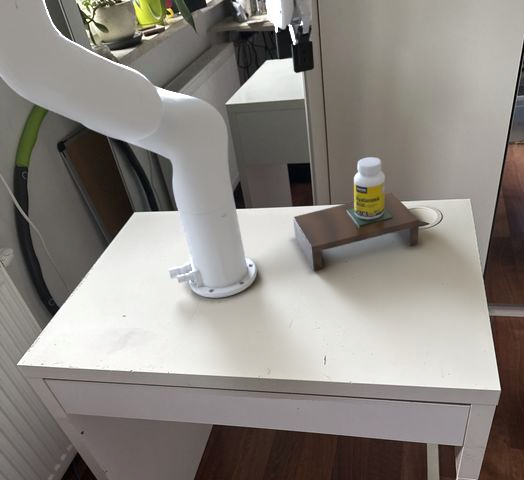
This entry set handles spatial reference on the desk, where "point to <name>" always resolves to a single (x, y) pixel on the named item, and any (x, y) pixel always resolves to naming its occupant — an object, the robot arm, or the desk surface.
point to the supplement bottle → (369, 189)
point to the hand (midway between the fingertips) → (295, 63)
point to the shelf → (351, 227)
